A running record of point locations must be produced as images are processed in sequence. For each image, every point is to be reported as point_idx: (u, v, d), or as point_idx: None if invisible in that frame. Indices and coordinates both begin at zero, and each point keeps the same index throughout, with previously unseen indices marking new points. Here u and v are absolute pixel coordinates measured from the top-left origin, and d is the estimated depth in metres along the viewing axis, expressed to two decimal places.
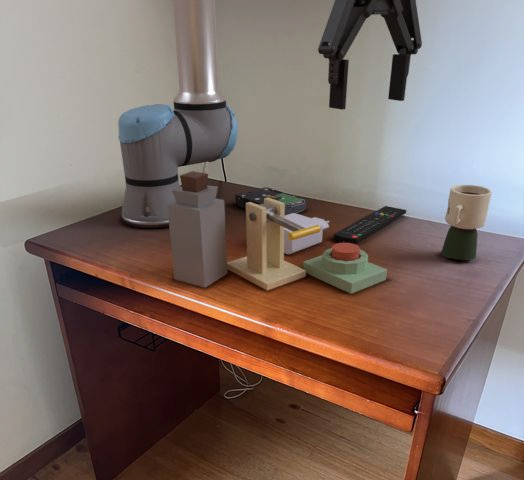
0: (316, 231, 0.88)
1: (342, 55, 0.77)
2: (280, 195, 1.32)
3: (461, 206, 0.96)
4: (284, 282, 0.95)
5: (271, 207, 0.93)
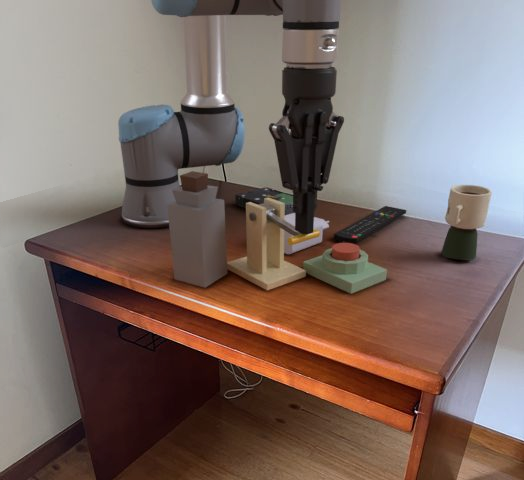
0: (315, 236, 0.89)
1: (305, 189, 0.82)
2: (280, 195, 1.32)
3: (461, 206, 0.96)
4: (284, 282, 0.95)
5: (271, 208, 0.93)
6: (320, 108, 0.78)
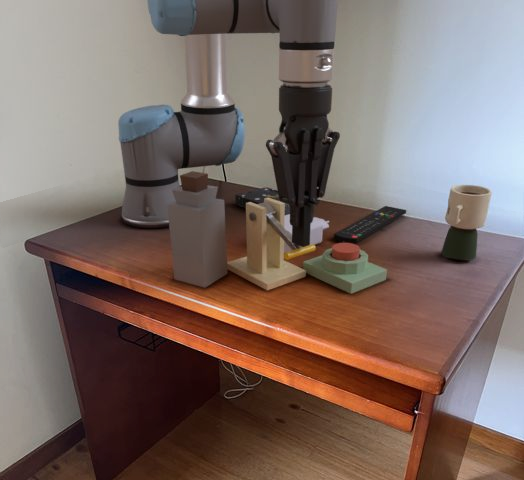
0: (311, 251, 0.91)
1: (301, 204, 0.84)
2: None
3: (461, 206, 0.96)
4: (284, 282, 0.95)
5: (272, 210, 0.93)
6: (316, 124, 0.79)
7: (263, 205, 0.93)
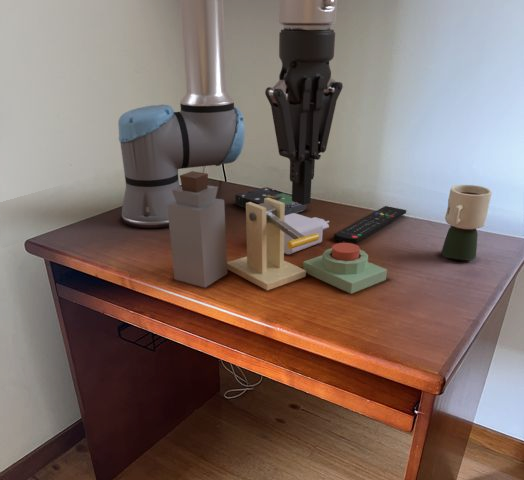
0: (315, 240, 0.89)
1: (302, 158, 0.80)
2: (280, 195, 1.32)
3: (461, 206, 0.96)
4: (284, 282, 0.95)
5: (272, 208, 0.93)
6: (318, 72, 0.76)
7: (262, 205, 0.93)
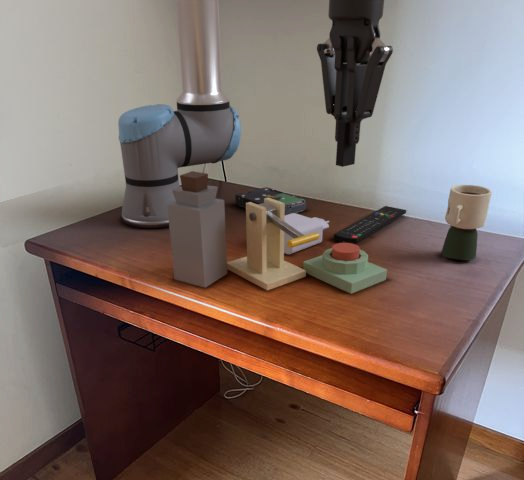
0: (315, 239, 0.89)
1: None
2: (280, 195, 1.32)
3: (461, 206, 0.96)
4: (284, 282, 0.95)
5: (272, 208, 0.93)
6: None
7: (262, 205, 0.93)
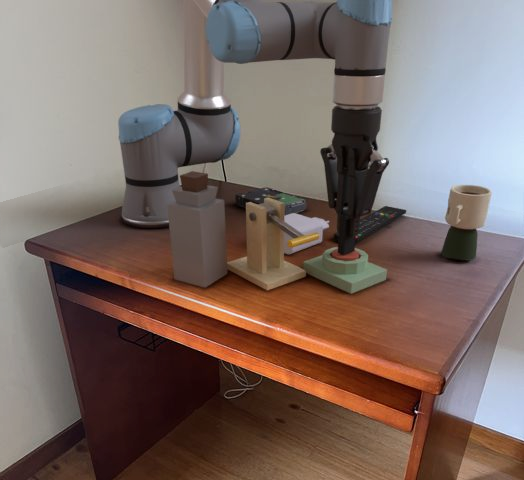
0: (315, 239, 0.89)
1: None
2: (280, 195, 1.32)
3: (461, 206, 0.96)
4: (284, 282, 0.95)
5: (272, 208, 0.93)
6: None
7: (262, 205, 0.93)
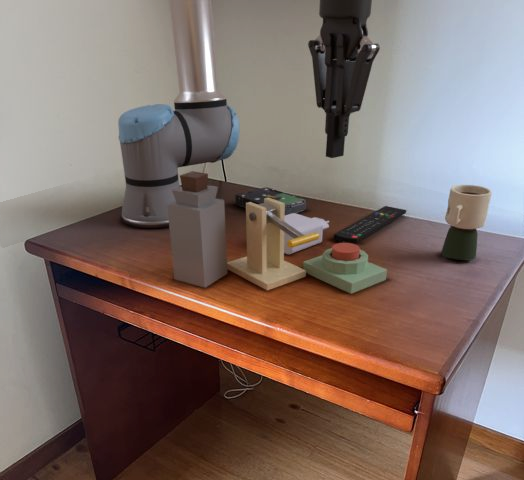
0: (315, 239, 0.89)
1: None
2: (280, 195, 1.32)
3: (461, 206, 0.96)
4: (284, 282, 0.95)
5: (272, 208, 0.93)
6: None
7: (262, 205, 0.93)
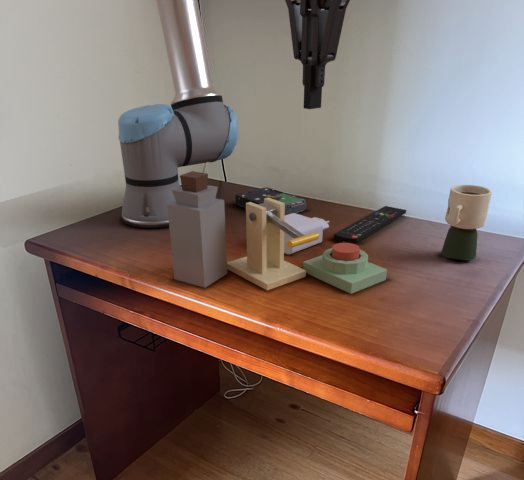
0: (315, 239, 0.89)
1: None
2: (280, 195, 1.32)
3: (461, 206, 0.96)
4: (284, 282, 0.95)
5: (272, 208, 0.93)
6: None
7: (262, 205, 0.93)
